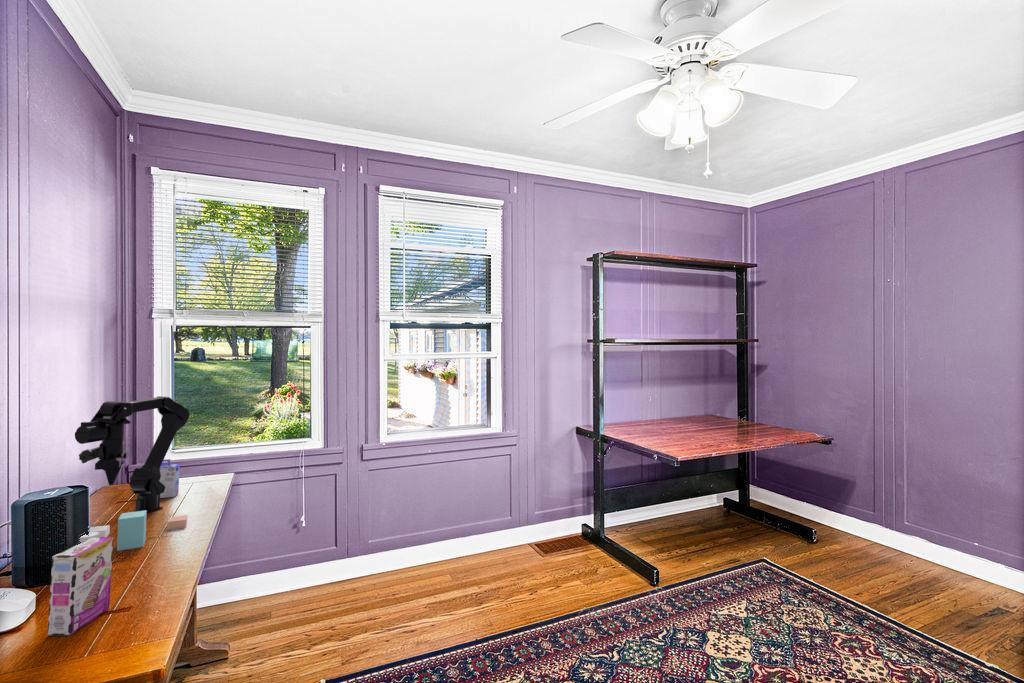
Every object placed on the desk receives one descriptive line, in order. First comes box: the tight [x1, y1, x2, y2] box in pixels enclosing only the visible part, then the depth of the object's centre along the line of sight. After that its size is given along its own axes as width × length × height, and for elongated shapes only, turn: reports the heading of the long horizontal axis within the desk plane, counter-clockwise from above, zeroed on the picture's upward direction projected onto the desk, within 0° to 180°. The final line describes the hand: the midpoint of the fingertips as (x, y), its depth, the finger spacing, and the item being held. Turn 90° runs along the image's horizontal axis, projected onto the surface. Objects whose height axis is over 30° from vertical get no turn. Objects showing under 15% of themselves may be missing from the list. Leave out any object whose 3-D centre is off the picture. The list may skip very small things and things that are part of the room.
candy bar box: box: [47, 536, 114, 637], centre depth 107 cm, size 11×5×16 cm, turn 5°
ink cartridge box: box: [159, 458, 180, 499], centre depth 197 cm, size 10×6×14 cm, turn 112°
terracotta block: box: [166, 514, 189, 531], centre depth 161 cm, size 5×5×4 cm
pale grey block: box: [90, 524, 111, 537], centre depth 150 cm, size 5×5×4 cm
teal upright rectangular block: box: [116, 510, 148, 552], centre depth 145 cm, size 6×6×9 cm
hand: (111, 484), depth 166 cm, fingers closed
